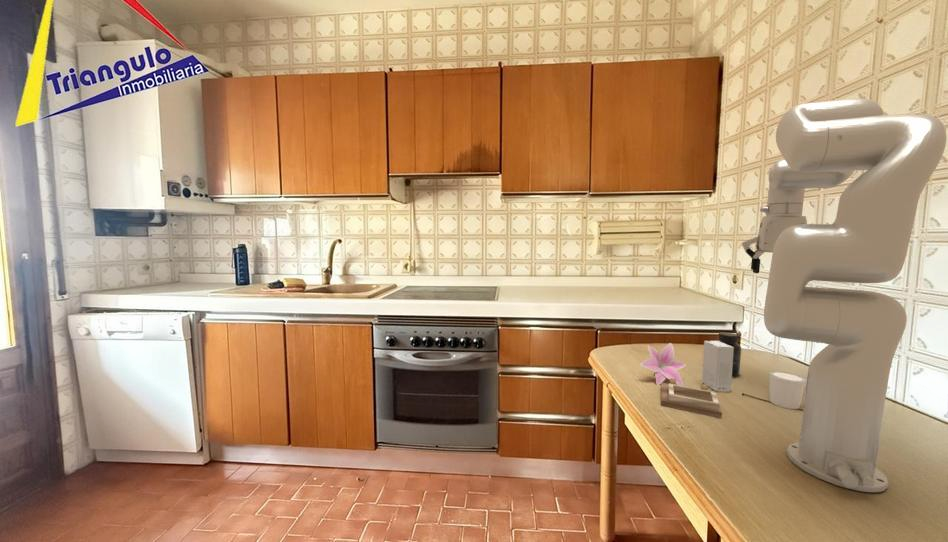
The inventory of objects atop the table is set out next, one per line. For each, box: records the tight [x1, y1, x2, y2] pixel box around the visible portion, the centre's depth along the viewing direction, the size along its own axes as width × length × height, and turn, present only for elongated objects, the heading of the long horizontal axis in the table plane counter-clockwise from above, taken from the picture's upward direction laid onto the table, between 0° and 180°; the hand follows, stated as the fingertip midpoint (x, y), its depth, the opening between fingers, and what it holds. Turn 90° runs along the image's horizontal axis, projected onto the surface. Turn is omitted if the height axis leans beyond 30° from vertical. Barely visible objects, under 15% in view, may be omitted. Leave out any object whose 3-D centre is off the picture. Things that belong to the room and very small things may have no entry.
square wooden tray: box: [660, 378, 723, 419], centre depth 90 cm, size 12×12×3 cm
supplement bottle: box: [717, 331, 742, 378], centre depth 109 cm, size 7×7×12 cm
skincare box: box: [701, 340, 734, 393], centre depth 99 cm, size 6×4×12 cm
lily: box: [639, 342, 687, 386], centre depth 103 cm, size 12×12×10 cm
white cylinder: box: [769, 371, 807, 410], centre depth 90 cm, size 7×7×7 cm
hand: (777, 273), depth 101 cm, fingers open, 9 cm apart
